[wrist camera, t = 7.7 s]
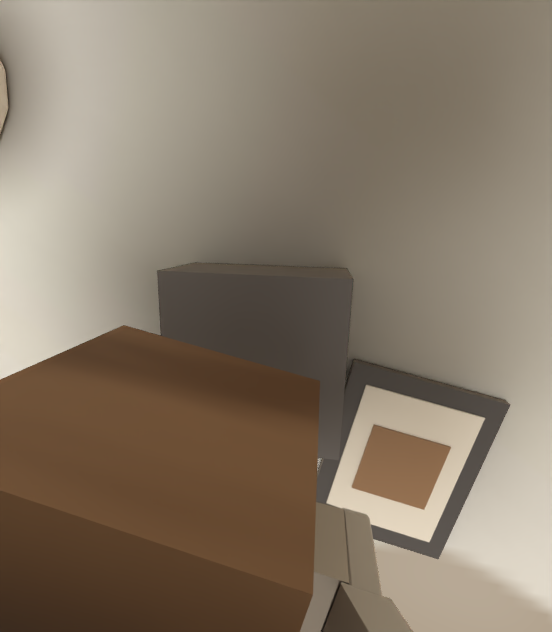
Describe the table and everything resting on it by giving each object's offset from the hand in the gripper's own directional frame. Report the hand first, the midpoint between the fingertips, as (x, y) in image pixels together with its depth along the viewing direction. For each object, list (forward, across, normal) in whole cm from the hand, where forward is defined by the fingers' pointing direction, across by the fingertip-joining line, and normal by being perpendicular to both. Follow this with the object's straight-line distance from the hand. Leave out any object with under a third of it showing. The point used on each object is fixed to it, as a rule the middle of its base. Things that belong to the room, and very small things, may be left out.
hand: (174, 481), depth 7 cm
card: (+10, -8, +4) cm, 13 cm away
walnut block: (+2, 0, 0) cm, 2 cm away
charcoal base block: (+10, 0, 0) cm, 10 cm away
